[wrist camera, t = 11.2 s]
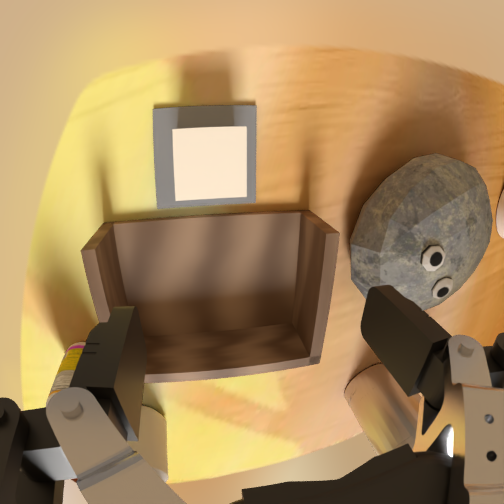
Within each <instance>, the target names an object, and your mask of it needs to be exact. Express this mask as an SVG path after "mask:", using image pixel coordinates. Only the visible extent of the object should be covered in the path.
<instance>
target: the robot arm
mask: <svg viewBox="0 0 504 504" xmlns="http://www.w3.org/2000/svg"><path fill="white" fill-rule="evenodd" d="M361 333H362V336H363V338H364V339H365V341H366V342H367V343H368V344H369V346H370V347H371V348H372V350H373V351H374V352H375V354H376V355H377V356H378V358H379V359H380V360H381V362H382V363H383V364H377V365H374V366H371V367H369V368H367V369H365V370H364V371H362V372H361V373H359V374H358V375H357V376H356V377H355V378H354V379H353V380H352V381H351V382H350V383H349V385H348V386H347V388H346V390H345V398H346V400H347V402H348V404H349V406H350V407H351V409H352V411H353V413H354V415H355V417H356V418H357V420H358V422H359V424H360V426H361V427H362V429H363V431H364V433H365V434H366V436H367V438H368V440H369V442H370V444H371V445H372V447H373V449H374V451H375V453H376V454H377V456H376V457H374V458H372V459H371V460H369V461H368V462H366V463H365V464H363V465H362V466H360V467H358V468H357V469H355V470H354V471H352V472H350V473H349V474H347V475H345V476H344V477H342V478H340V479H337V480H327V481H302V482H300V481H298V482H284V483H279V484H273V485H267V486H261V487H255V488H247V489H242V499H241V500H238V501H235V502H232V503H230V504H504V333H500V334H499V335H498V336H497V338H496V340H495V342H494V344H493V346H486V347H482V345H481V344H480V343H479V342H478V341H476V340H475V339H473V338H471V337H469V336H465V335H455V336H453V337H452V336H451V335H450V334H449V333H448V332H447V331H446V330H444V329H443V328H442V327H441V326H440V325H439V324H438V323H437V322H436V321H435V320H434V319H432V318H431V317H429V315H428V314H427V313H426V312H425V311H422V309H421V308H420V307H419V306H418V305H417V304H416V303H415V302H413V301H411V300H410V299H408V298H406V297H404V296H403V295H402V294H401V293H400V292H398V291H397V290H396V289H395V288H394V287H393V286H391V285H382V286H374V287H371V288H370V289H369V291H368V293H367V298H366V303H365V307H364V312H363V316H362V320H361ZM146 364H147V350H146V344H145V339H144V335H143V331H142V326H141V322H140V317H139V312H138V309H137V307H136V306H124V307H113V309H112V312H111V314H110V317H109V320H108V322H100V323H99V324H98V325H97V326H96V327H95V328H94V329H92V330H91V331H90V333H89V336H88V338H87V340H86V345H84V348H83V350H82V354H81V355H80V358H79V361H78V363H77V366H76V369H75V371H74V374H73V377H72V379H71V382H70V385H69V388H66V389H63V390H61V391H59V392H57V393H56V394H54V395H53V396H52V397H51V399H50V400H49V402H48V404H47V407H45V408H40V409H33V410H26V411H21V410H20V408H19V407H18V406H17V404H16V403H15V402H14V401H13V400H11V399H9V398H0V504H62V502H63V489H64V480H66V479H73V478H78V481H76V482H77V485H78V487H79V489H80V491H81V493H82V494H83V496H84V498H85V499H86V501H87V502H88V504H186V503H185V502H184V501H183V500H182V499H181V498H180V497H179V496H178V495H177V494H176V493H175V492H174V491H173V490H172V489H171V488H170V487H169V486H168V485H167V484H166V483H165V482H164V481H163V480H162V479H161V477H160V476H159V475H158V474H157V473H156V472H155V471H154V470H153V469H152V468H151V466H150V465H149V464H148V463H147V462H146V461H145V460H144V458H143V457H142V456H141V455H140V454H139V453H138V452H137V451H134V450H133V449H132V448H131V447H130V446H129V444H128V443H127V441H139V428H140V417H141V406H142V397H143V388H144V380H145V372H146ZM420 392H421V393H422V397H421V396H420V395H419V394H418V393H420Z"/></svg>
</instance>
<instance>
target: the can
mask: <svg viewBox="0 0 504 504" xmlns="http://www.w3.org/2000/svg"><path fill="white" fill-rule="evenodd" d="M127 443H128V444H129V446H130V447H131V448H132V449H133V450H134V451H137V452H138V453H139V454H140V455H141V456H142V457H143V458H144V460H145V461H146V462H147V463H148V464H149V465H150V466H151V468H152V469H153V470H154V471H155V472H156V473H157V474H158V475H159V476H160V477H161V479H162V480H163V481H164V482H166V481H167V480H168V463H167V423H166V420H165V418H164V417H163V416H162V415H161V414H160V413H158V412H157V411H156V410H154V409H152V408H150V407H147V406H143V405H142V406H141V417H140V428H139V441H127Z"/></svg>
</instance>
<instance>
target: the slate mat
mask: <svg viewBox="0 0 504 504" xmlns="http://www.w3.org/2000/svg"><path fill="white" fill-rule="evenodd" d="M256 108H257V106H252V105H215V106H188V107H172V108H159V109H153V141H154V164H155V182H156V196H157V208H158V209H161V208H174V207H189V206H205V205H222V204H243V203H256ZM239 126H247V197H234V198H215V199H198V200H184V201H176V199H175V183H174V163H173V133H172V129H183V128H202V127H239Z"/></svg>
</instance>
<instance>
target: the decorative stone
mask: <svg viewBox="0 0 504 504" xmlns="http://www.w3.org/2000/svg"><path fill="white" fill-rule="evenodd" d="M492 222H493V220H492V213H491V206H490V200H489V196H488V192H487V188H486V185H485V183H484V181H483V179H482V178H481V176H480V175H479V173H478V171H477V170H476V168H474V167H472V166H470V165H468V164H466V163H464V162H462V161H460V160H457V159H454V158H450V157H447V156H444V155H441V154H437V153H434V154H430V155H425V156H421V157H416V158H413V159H412V160H410V161H409V162H408V163H406V164H405V165H404V166H402V167H401V168H400V169H398V170H397V171H395V172H394V173H393V174H391V175H390V176H389V177H387V178H386V179H385V180H384V181H383V182H382V183H381V184H380V185H379V187H378V188H377V189H376V190H375V192H374V193H373V194H372V195H371V196H370V198H369V199H368V200H367V201H366V202H365V204H364V205H363V207H362V209H361V212H360V215H359V217H358V220H357V223H356V225H355V228H354V231H353V233H352V236H351V239H350V258H351V280H352V281H353V282H354V284H355V285H356V286H357V288H358V289H359V290H360V292H361V293H362V294H363V296H364V297H365V298H367V293H368V291H369V289H370V288H371V287H374V286H382V285H391V286H393V287H394V288H395V289H396V290H397V291H398V292H400V293H401V294H402V295H403V296H404V297H406V298H408V299H410V300H411V301H413V302H415V303H416V304H417V305H418V306H419V307H420V308H421V309H422V311H423V310H426V309H429V308H431V307H434V306H437V305H439V304H441V303H442V302H443V301H445V300H446V299H447V298H449V297H450V296H451V295H452V294H454V293H455V292H456V291H457V290H459V289H460V288H461V287H462V285H463V284H464V283H465V282H466V281H467V279H468V278H469V277H470V276H471V275H472V273H473V272H474V271H475V269H476V268H477V266H478V264H479V263H480V261H481V259H482V258H483V256H484V253H485V251H486V249H487V247H488V244H489V242H490V236H491V229H492Z"/></svg>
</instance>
